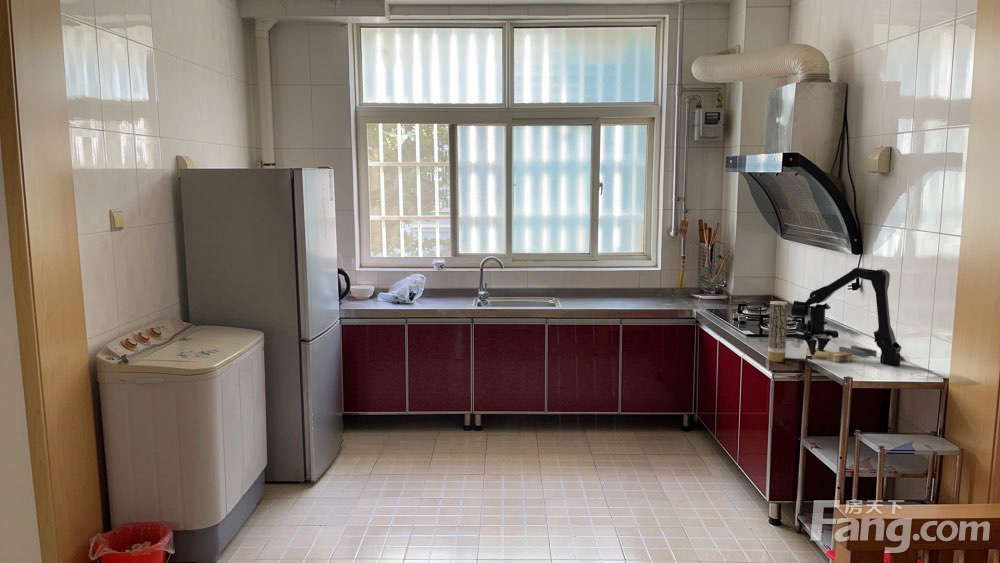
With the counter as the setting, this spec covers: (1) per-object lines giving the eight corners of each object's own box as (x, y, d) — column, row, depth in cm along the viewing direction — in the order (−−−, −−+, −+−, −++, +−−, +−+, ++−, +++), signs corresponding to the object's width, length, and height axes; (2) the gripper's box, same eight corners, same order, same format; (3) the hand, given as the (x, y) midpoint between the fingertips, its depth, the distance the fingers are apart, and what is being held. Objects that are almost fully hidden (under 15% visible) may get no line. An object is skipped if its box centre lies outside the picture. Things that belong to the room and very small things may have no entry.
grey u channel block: (876, 358, 298) (876, 350, 297) (861, 360, 295) (861, 352, 295) (853, 353, 309) (854, 345, 309) (838, 354, 306) (839, 346, 306)
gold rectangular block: (834, 361, 292) (835, 352, 292) (827, 361, 291) (828, 353, 290) (813, 355, 303) (813, 347, 303) (806, 355, 302) (806, 347, 302)
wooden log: (786, 362, 290) (789, 303, 287) (769, 362, 291) (771, 303, 289) (783, 359, 297) (785, 301, 294) (766, 358, 298) (768, 301, 295)
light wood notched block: (851, 364, 287) (852, 353, 287) (834, 366, 284) (835, 355, 284) (844, 362, 291) (844, 351, 290) (827, 364, 288) (827, 353, 287)
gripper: (820, 314, 308) (818, 349, 310) (786, 316, 302) (784, 352, 304) (840, 318, 298) (838, 354, 300) (805, 320, 292) (803, 357, 293)
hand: (815, 354), depth 299 cm, fingers closed on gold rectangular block, 4 cm apart
